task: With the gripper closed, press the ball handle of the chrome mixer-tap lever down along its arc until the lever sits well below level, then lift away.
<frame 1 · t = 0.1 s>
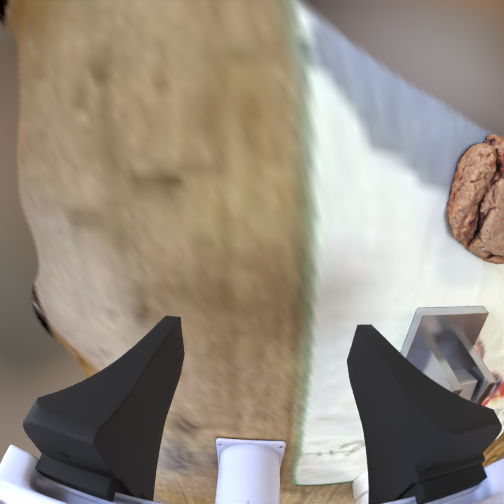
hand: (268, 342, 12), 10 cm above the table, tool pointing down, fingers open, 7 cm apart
honey pot: (389, 474, 38), on the table
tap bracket: (434, 349, 25), on the table
tap lever: (442, 424, 21), point 7 cm above the table, hinge at 15.0°
cookie: (491, 198, 19), on the table
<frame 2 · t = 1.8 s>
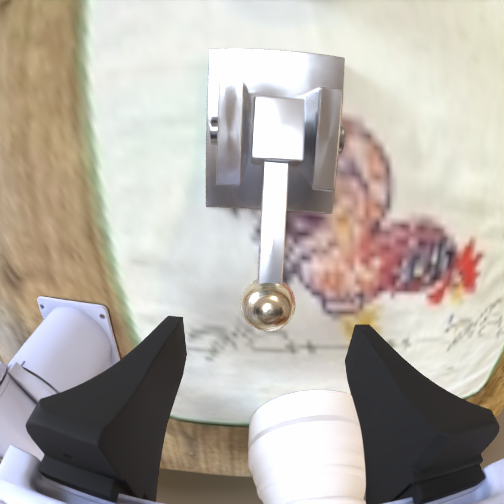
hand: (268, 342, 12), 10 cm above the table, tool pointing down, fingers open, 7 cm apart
honey pot: (307, 424, 31), on the table
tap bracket: (273, 128, 19), on the table
tap lever: (273, 218, 14), point 7 cm above the table, hinge at 15.0°
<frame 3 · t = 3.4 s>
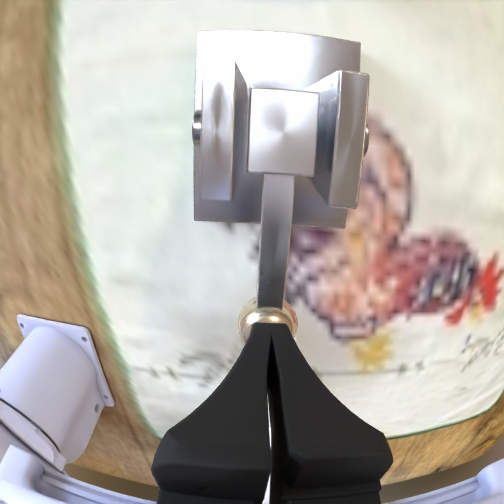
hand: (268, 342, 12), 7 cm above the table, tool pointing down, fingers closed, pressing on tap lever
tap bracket: (275, 126, 15), on the table
tap lever: (274, 236, 12), point 6 cm above the table, hinge at 1.2°, touching gripper
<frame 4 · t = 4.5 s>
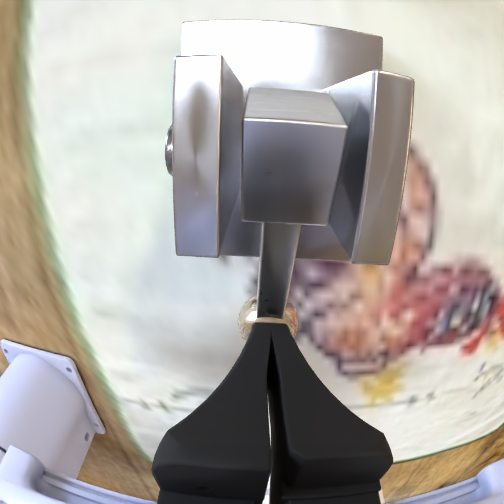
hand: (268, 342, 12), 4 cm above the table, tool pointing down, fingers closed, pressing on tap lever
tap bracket: (277, 138, 13), on the table
tap lever: (276, 258, 11), point 4 cm above the table, hinge at -21.7°, touching gripper
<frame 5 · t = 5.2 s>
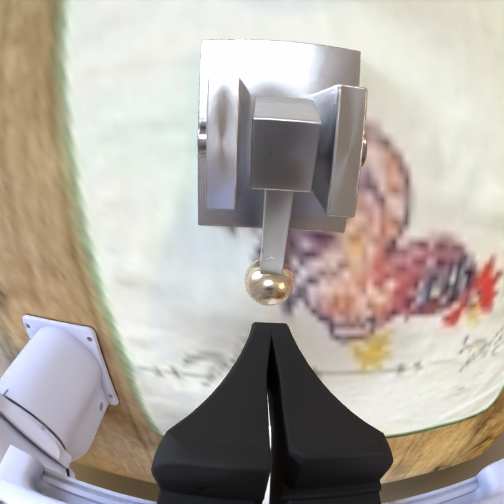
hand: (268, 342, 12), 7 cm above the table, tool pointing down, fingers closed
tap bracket: (276, 133, 16), on the table
tap lever: (275, 223, 14), point 4 cm above the table, hinge at -21.7°
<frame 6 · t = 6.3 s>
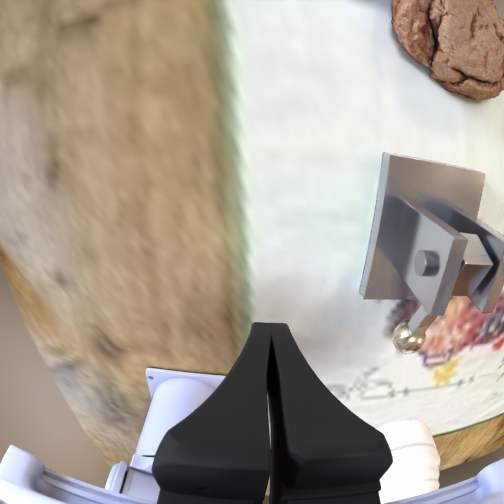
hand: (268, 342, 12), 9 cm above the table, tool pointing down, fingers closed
honey pot: (383, 447, 32), on the table
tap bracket: (422, 230, 20), on the table
tap lever: (433, 305, 18), point 4 cm above the table, hinge at -21.7°
cookie: (450, 30, 14), on the table
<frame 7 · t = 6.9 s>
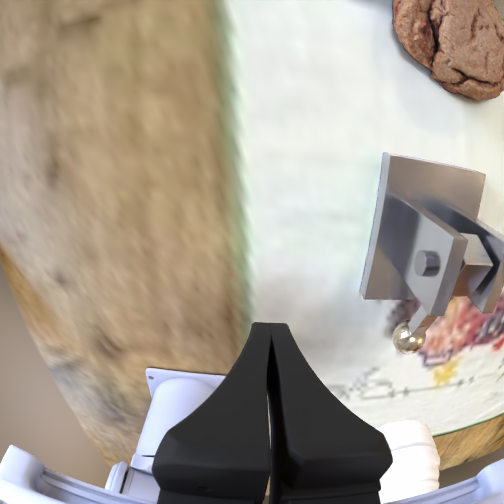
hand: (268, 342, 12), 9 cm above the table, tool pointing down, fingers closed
honey pot: (383, 447, 32), on the table
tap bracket: (422, 230, 20), on the table
tap lever: (433, 305, 18), point 4 cm above the table, hinge at -21.7°
cookie: (451, 30, 14), on the table
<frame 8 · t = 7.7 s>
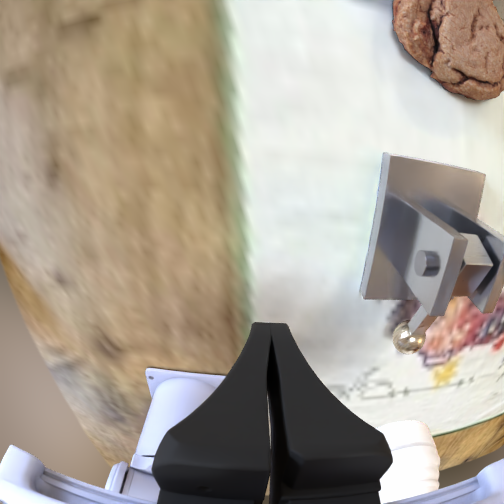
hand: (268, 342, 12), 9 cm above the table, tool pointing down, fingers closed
honey pot: (383, 447, 32), on the table
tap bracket: (422, 230, 20), on the table
tap lever: (433, 305, 18), point 4 cm above the table, hinge at -21.7°
cookie: (451, 30, 14), on the table
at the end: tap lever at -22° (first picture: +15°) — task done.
